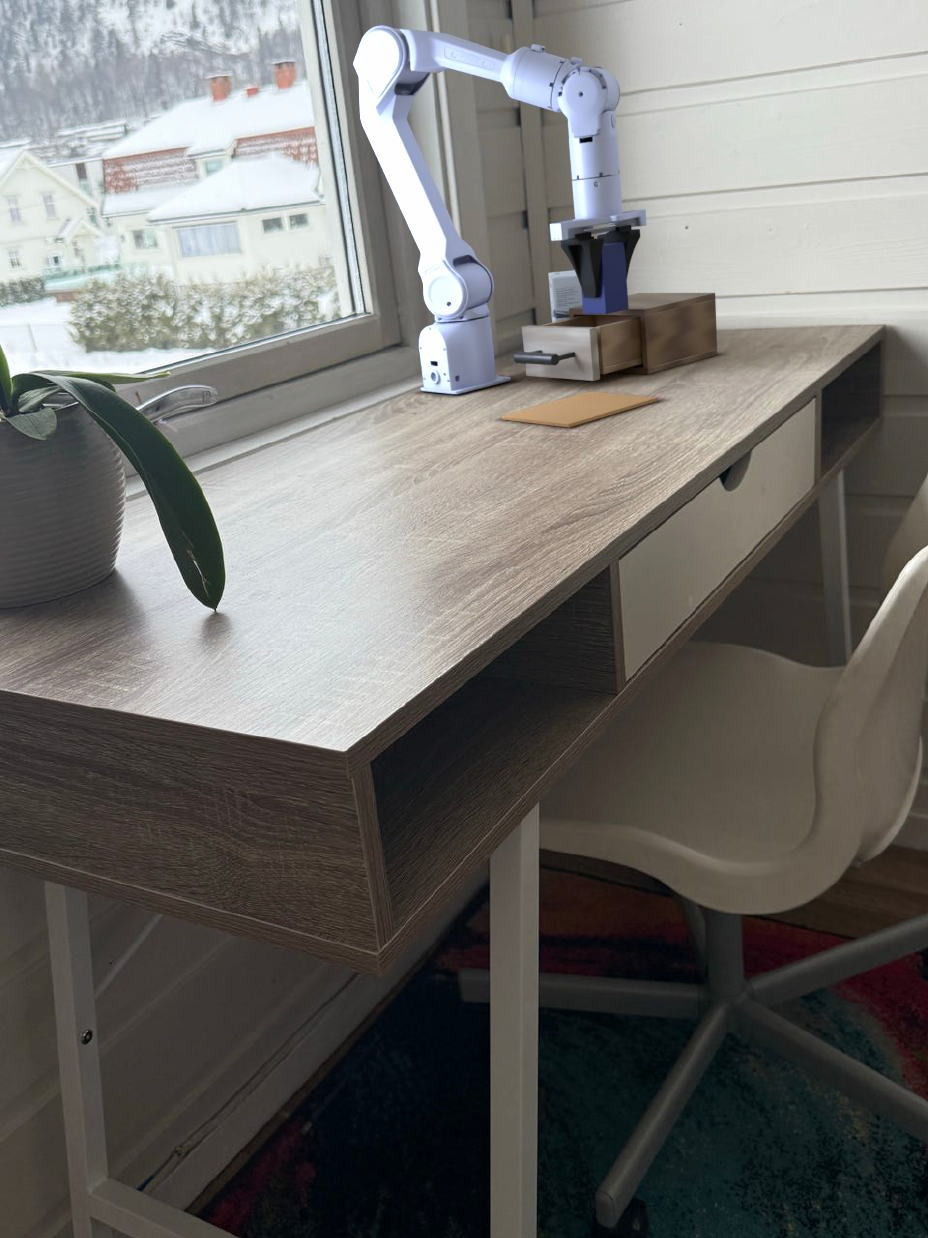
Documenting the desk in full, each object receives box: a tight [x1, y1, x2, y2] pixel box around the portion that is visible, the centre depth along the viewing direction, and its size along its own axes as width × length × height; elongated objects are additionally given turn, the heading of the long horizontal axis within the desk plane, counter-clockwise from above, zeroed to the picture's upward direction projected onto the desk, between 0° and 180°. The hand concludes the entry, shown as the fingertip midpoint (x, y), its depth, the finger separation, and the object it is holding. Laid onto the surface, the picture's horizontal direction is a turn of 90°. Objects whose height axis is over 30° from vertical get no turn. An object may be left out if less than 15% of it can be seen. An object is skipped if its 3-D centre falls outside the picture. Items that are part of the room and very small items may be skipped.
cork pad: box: [501, 390, 659, 429], centre depth 129 cm, size 14×11×1 cm
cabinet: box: [569, 292, 718, 375], centre depth 153 cm, size 14×14×8 cm
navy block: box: [581, 241, 629, 314], centre depth 141 cm, size 4×4×8 cm
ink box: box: [547, 269, 583, 323], centre depth 164 cm, size 8×5×12 cm, turn 179°
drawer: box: [513, 315, 643, 382], centre depth 147 cm, size 17×12×6 cm
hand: (604, 294), depth 142 cm, fingers closed on navy block, 4 cm apart
